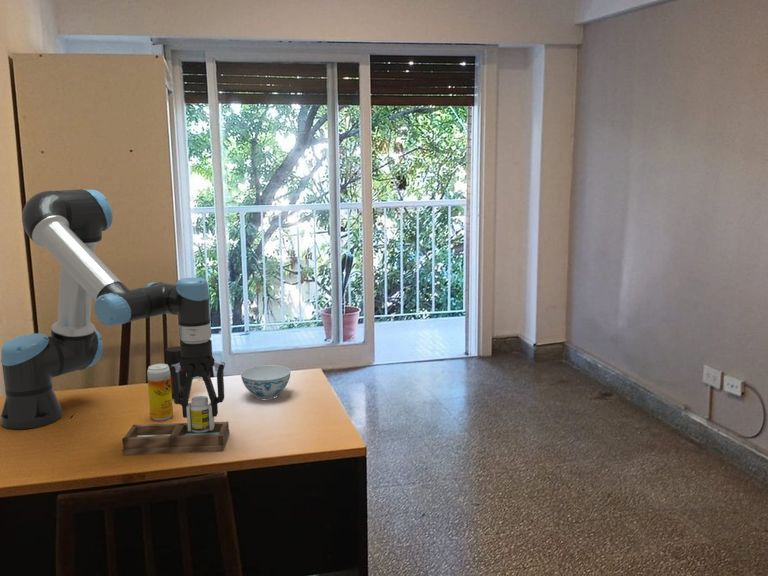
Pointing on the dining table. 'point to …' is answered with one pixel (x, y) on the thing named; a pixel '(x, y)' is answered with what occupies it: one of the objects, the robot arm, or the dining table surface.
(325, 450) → the dining table surface
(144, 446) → the divided tray
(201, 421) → the supplement bottle
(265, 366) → the chinaware
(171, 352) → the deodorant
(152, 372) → the yellow canister
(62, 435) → the dining table surface
